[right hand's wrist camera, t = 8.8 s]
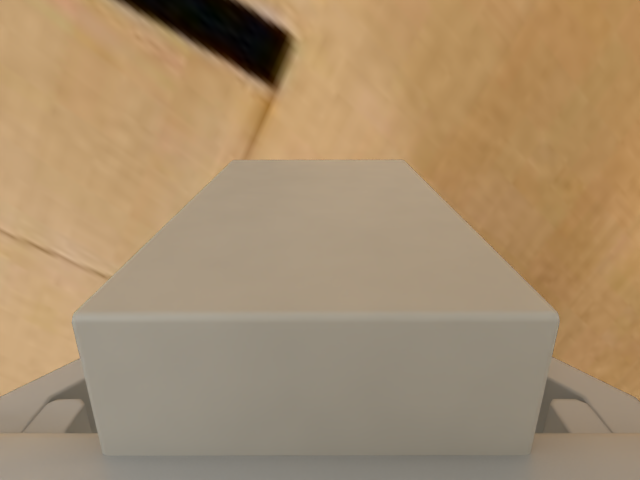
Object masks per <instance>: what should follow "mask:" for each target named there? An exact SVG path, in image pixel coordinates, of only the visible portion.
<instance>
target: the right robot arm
mask: <svg viewBox="0 0 640 480" xmlns="http://www.w3.org/2000/svg"><path fill="white" fill-rule="evenodd" d="M0 480H640V401H639V400H638V399H637V398H635V397H633V396H631V395H629V394H627V393H625V392H623V391H621V390H619V389H617V388H615V387H613V386H611V385H609V384H607V383H605V382H603V381H601V380H599V379H596V378H594V377H592V376H590V375H588V374H586V373H584V372H582V371H580V370H578V369H576V368H574V367H572V366H570V365H568V364H566V363H564V362H562V361H560V360H558V359H556V358H554V357H552V358H551V363H550V367H549V372H548V376H547V381H546V385H545V390H544V394H543V399H542V403H541V408H540V412H539V417H538V421H537V426H536V430H535V435H534V439H533V444H532V448H531V452H530V454H528V455H426V456H106V455H103V454H102V449H101V445H100V441H99V437H98V432H97V428H96V424H95V419H94V415H93V411H92V407H91V402H90V398H89V394H88V390H87V385H86V381H85V377H84V372H83V368H82V364H81V360H80V359H77V360H75V361H73V362H71V363H69V364H67V365H65V366H63V367H61V368H59V369H57V370H55V371H53V372H51V373H48V374H46V375H44V376H42V377H40V378H38V379H36V380H34V381H32V382H30V383H28V384H26V385H24V386H22V387H19V388H17V389H15V390H13V391H11V392H9V393H7V394H5V395H3V396H1V397H0Z"/></svg>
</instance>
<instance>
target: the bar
mask: <svg viewBox="0 0 640 480" xmlns="http://www.w3.org/2000/svg"><path fill="white" fill-rule="evenodd" d="M559 323H560V320H559V315H558V312H557V311H556V310H555V309H554V308H553V307H552V306H551V305H550V304H549V303H548V302H547V301H546V300H545V299H544V298H543V297H542V296H541V295H540V294H539V293H538V292H537V291H536V290H535V289H534V288H533V287H532V286H531V285H530V284H529V283H528V282H527V281H526V280H525V279H524V278H523V277H522V276H521V275H520V274H519V273H518V272H517V271H515V270H514V269H513V268H512V267H511V266H510V265H509V264H508V263H507V262H506V261H505V260H504V259H503V258H502V257H501V256H500V255H499V254H498V253H497V252H496V251H495V250H494V249H493V248H492V247H491V246H490V245H489V244H488V243H487V242H486V241H485V240H484V239H483V238H482V237H481V236H480V235H479V234H478V233H477V232H476V231H475V230H474V229H473V228H472V227H471V226H470V225H469V224H468V223H467V222H466V221H465V220H464V219H463V218H462V217H461V216H460V215H459V214H458V213H457V212H456V211H455V210H454V209H453V208H452V207H451V206H450V205H449V204H448V203H447V202H446V201H445V200H444V199H443V198H442V197H441V196H440V195H439V194H438V193H437V192H436V191H435V190H434V189H433V188H432V187H431V186H430V185H429V184H428V183H427V182H426V181H424V180H423V179H422V178H421V177H420V176H419V175H418V174H417V173H416V172H415V171H414V170H413V169H412V168H411V167H410V166H409V165H408V164H407V163H406V162H405V161H404V160H233V161H231V162H230V163H229V164H228V165H227V166H226V167H225V168H224V169H223V170H222V171H221V172H220V173H219V174H218V175H217V176H216V177H214V178H213V179H212V180H211V181H210V182H209V183H208V184H207V185H206V186H205V187H204V188H203V189H202V190H201V191H200V192H199V193H198V194H197V195H196V196H195V197H194V198H193V199H192V200H191V201H190V202H189V203H187V204H186V205H185V206H184V207H183V208H182V209H181V210H180V211H179V212H178V213H177V214H176V215H175V216H174V217H173V218H172V219H171V220H170V221H169V222H168V223H167V224H166V225H165V226H164V227H163V228H162V229H161V230H159V231H158V232H157V233H156V234H155V235H154V236H153V237H152V238H151V239H150V240H149V241H148V242H147V243H146V244H145V245H144V246H143V247H142V248H141V249H140V250H139V251H138V252H137V253H136V254H135V255H134V256H133V257H131V258H130V259H129V260H128V261H127V262H126V263H125V264H124V265H123V266H122V267H121V268H120V269H119V270H118V271H117V272H116V273H115V274H114V275H113V276H112V277H111V278H110V279H109V280H108V281H107V282H106V283H105V284H103V285H102V286H101V287H100V288H99V289H98V290H97V291H96V292H95V293H94V294H93V295H92V296H91V297H90V298H89V299H88V300H87V301H86V302H85V303H84V304H83V305H82V306H81V307H80V308H79V309H78V310H76V311H75V312H74V314H73V317H72V325H73V330H74V334H75V338H76V342H77V347H78V351H79V355H80V360H81V364H82V368H83V372H84V377H85V381H86V385H87V390H88V394H89V398H90V402H91V407H92V411H93V415H94V419H95V424H96V428H97V432H98V437H99V441H100V445H101V449H102V454H103V455H106V456H426V455H528V454H530V452H531V448H532V444H533V439H534V435H535V430H536V426H537V421H538V417H539V412H540V408H541V403H542V399H543V394H544V390H545V385H546V381H547V376H548V372H549V367H550V363H551V358H552V354H553V350H554V345H555V341H556V336H557V332H558V327H559Z"/></svg>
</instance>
